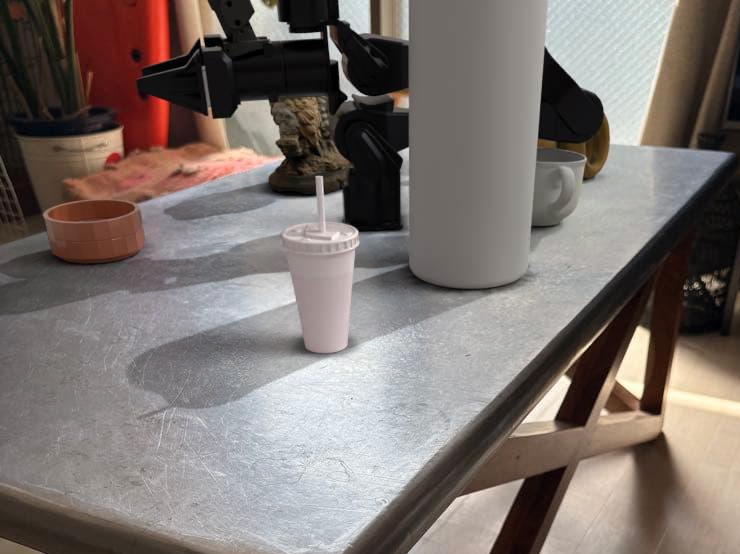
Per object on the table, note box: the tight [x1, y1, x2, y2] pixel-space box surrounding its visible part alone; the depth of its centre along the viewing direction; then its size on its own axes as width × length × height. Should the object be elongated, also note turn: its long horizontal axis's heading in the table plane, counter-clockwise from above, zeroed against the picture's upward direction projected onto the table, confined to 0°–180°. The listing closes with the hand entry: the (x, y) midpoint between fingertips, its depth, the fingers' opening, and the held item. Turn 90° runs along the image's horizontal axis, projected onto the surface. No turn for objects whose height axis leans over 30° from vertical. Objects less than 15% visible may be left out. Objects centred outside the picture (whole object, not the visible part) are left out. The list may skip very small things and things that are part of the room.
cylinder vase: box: [408, 0, 549, 290], centre depth 86 cm, size 12×12×25 cm
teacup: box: [531, 147, 587, 227], centre depth 106 cm, size 14×11×8 cm
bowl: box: [42, 198, 147, 264], centre depth 98 cm, size 10×10×4 cm
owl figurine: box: [267, 96, 353, 195], centre depth 121 cm, size 18×12×17 cm, turn 165°
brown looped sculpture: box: [537, 112, 611, 180], centre depth 127 cm, size 18×13×22 cm
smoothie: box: [280, 176, 360, 354], centre depth 73 cm, size 6×6×14 cm
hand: (139, 79), depth 95 cm, fingers open, 9 cm apart
